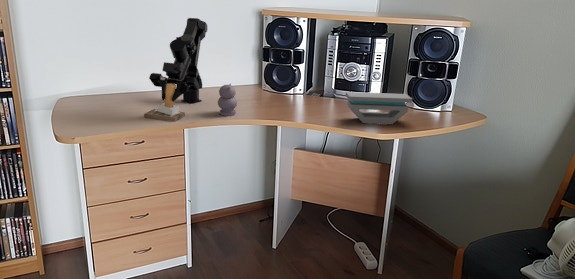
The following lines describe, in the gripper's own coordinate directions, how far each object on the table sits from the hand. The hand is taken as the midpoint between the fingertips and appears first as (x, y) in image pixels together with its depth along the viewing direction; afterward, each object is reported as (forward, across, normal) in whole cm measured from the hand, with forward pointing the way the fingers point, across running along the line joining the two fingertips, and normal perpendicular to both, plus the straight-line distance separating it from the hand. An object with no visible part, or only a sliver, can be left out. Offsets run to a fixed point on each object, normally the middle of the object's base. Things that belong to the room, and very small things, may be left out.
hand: (167, 100), depth 164 cm
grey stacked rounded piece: (-6, +18, +16) cm, 25 cm away
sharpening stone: (-15, +77, +25) cm, 82 cm away
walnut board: (+4, -2, +6) cm, 8 cm away
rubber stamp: (+2, -1, +5) cm, 6 cm away
